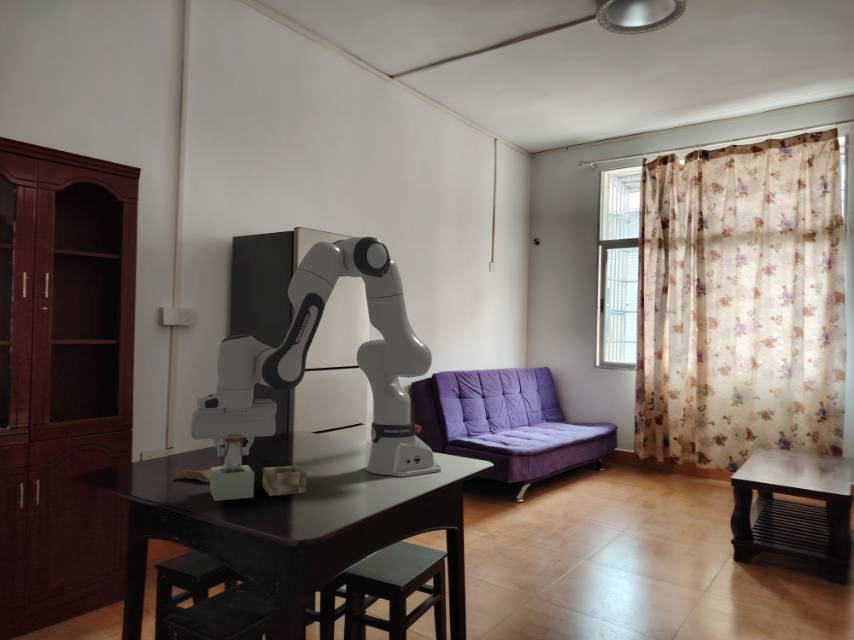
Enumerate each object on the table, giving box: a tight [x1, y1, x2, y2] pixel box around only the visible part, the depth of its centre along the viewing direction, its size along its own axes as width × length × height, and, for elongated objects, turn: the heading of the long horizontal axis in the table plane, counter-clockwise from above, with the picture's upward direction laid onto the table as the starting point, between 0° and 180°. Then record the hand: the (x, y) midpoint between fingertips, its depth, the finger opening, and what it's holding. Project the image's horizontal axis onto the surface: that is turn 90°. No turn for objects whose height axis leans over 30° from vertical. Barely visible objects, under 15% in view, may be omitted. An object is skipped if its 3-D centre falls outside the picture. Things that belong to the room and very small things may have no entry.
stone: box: [178, 463, 225, 484], centre depth 169 cm, size 11×16×3 cm
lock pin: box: [222, 435, 245, 473], centre depth 152 cm, size 5×5×13 cm
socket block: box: [209, 464, 255, 502], centre depth 152 cm, size 9×9×6 cm
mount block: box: [262, 465, 307, 497], centre depth 157 cm, size 9×9×5 cm
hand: (233, 455), depth 152 cm, fingers closed on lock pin, 4 cm apart
